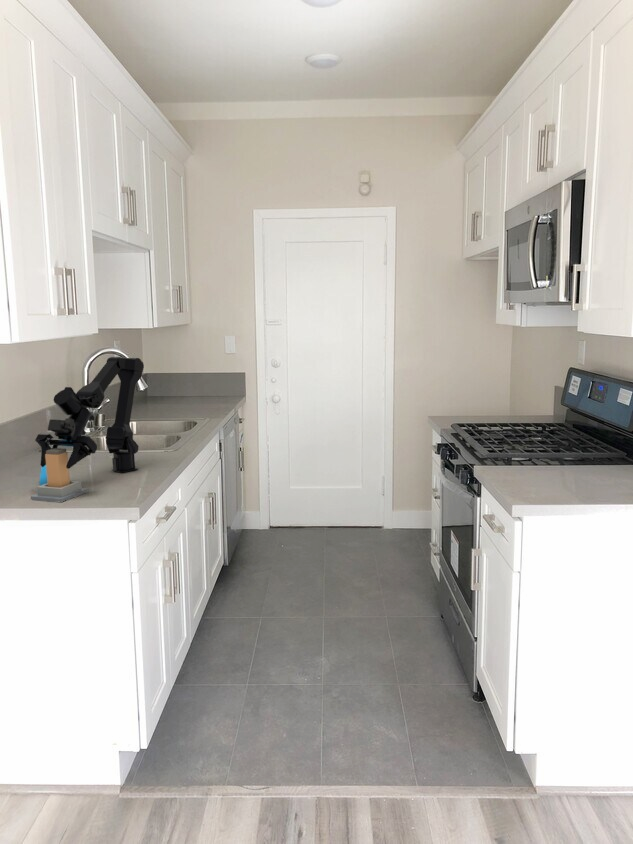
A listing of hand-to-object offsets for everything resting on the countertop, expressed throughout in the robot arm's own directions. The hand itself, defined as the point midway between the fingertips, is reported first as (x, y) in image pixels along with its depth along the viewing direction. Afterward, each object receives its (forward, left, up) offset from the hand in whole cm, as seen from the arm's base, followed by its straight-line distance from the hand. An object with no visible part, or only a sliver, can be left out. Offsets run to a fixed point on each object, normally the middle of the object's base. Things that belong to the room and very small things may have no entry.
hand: (54, 467), depth 202 cm
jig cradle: (-1, -1, -9) cm, 9 cm away
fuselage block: (-1, -1, -8) cm, 8 cm away
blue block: (-6, -17, -10) cm, 20 cm away
